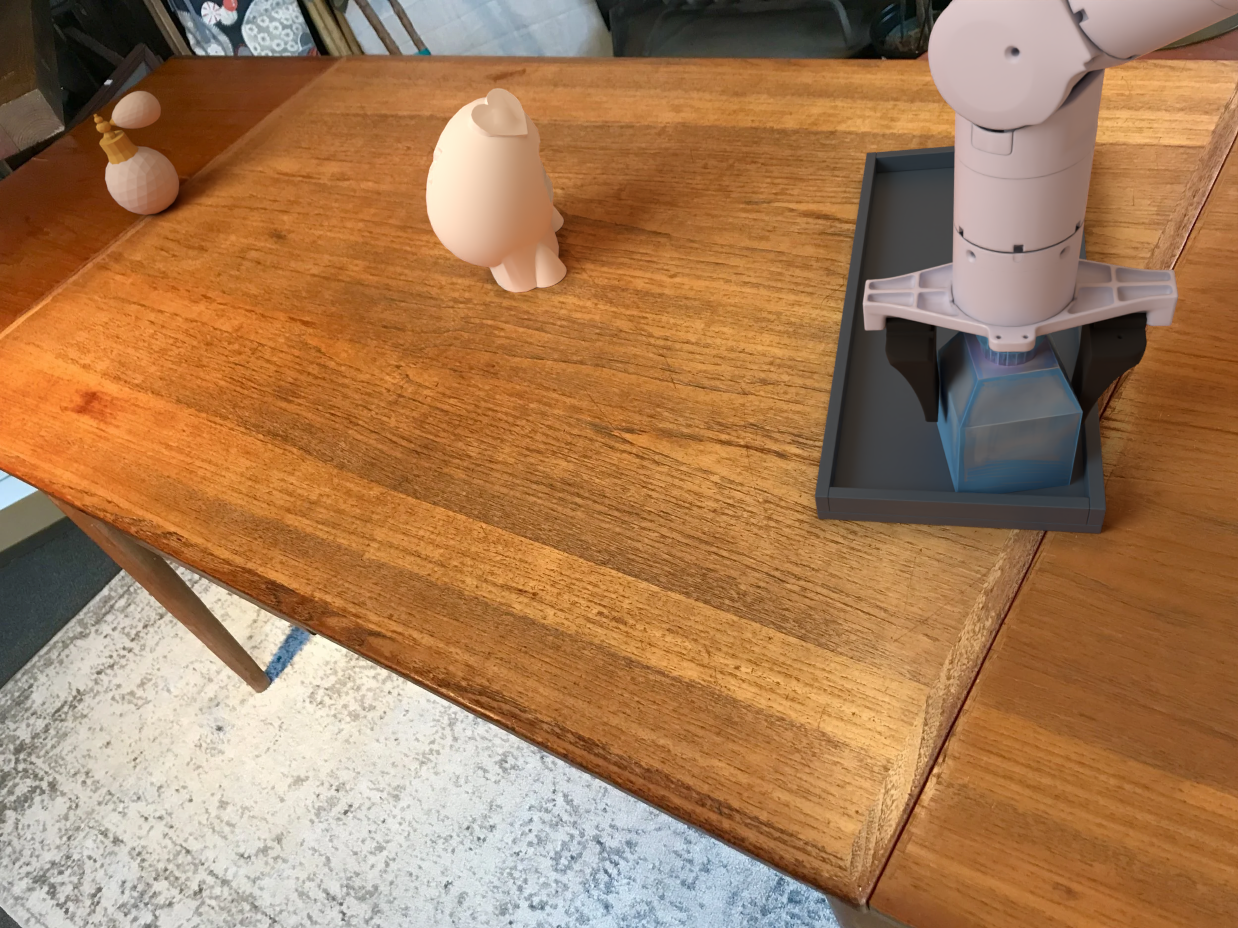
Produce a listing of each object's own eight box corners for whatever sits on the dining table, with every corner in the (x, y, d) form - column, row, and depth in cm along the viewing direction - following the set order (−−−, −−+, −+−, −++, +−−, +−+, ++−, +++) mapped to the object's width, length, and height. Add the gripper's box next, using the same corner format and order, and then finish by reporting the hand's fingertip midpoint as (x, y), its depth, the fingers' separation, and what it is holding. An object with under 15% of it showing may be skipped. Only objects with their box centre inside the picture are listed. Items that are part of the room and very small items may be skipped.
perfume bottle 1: (119, 218, 109) (48, 126, 100) (185, 171, 113) (121, 78, 104) (151, 231, 105) (79, 136, 96) (217, 182, 109) (154, 86, 100)
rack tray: (1073, 161, 73) (1076, 135, 71) (1100, 534, 52) (1106, 509, 50) (868, 176, 78) (866, 152, 77) (817, 519, 57) (814, 496, 56)
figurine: (456, 315, 80) (380, 163, 69) (459, 239, 88) (391, 92, 77) (581, 281, 79) (523, 121, 68) (573, 207, 86) (520, 52, 75)
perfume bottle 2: (1040, 407, 58) (1060, 251, 49) (1069, 484, 54) (1097, 330, 45) (936, 422, 59) (937, 272, 50) (957, 499, 55) (962, 351, 46)
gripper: (851, 276, 44) (866, 459, 54) (1206, 264, 39) (1151, 468, 49) (864, 186, 48) (876, 372, 58) (1187, 165, 43) (1140, 372, 53)
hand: (1002, 410), depth 54 cm, fingers closed on perfume bottle 2, 7 cm apart
